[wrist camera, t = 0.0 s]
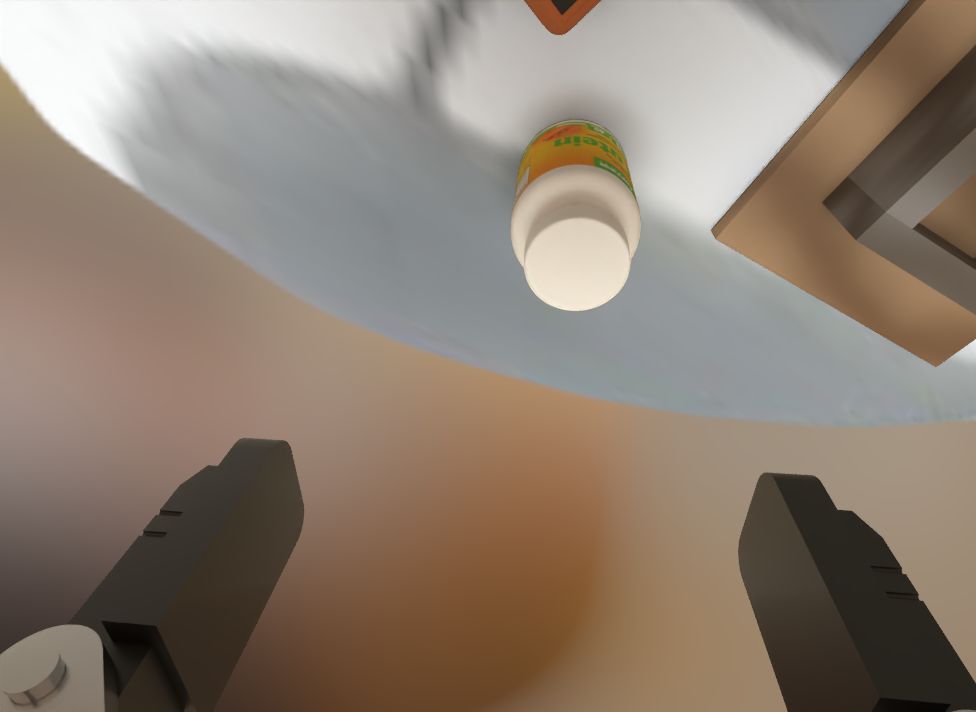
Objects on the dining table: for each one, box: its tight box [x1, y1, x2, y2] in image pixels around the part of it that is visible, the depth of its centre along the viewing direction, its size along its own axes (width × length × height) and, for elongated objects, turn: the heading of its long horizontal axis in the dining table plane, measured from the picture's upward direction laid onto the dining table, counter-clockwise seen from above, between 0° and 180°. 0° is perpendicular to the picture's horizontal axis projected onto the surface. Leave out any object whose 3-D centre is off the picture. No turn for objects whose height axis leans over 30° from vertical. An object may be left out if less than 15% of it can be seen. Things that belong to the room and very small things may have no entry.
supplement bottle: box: [511, 120, 641, 311], centre depth 25 cm, size 5×5×10 cm
